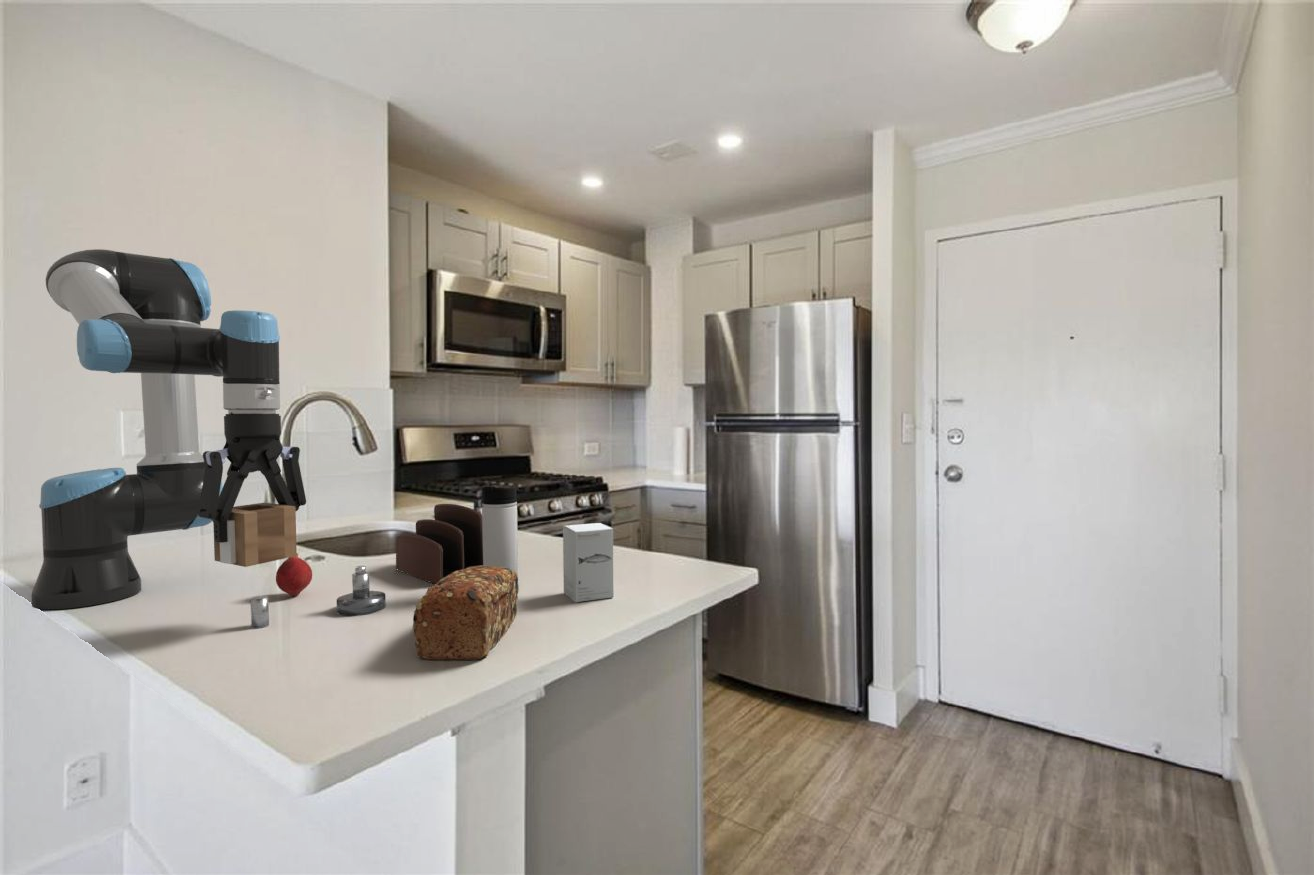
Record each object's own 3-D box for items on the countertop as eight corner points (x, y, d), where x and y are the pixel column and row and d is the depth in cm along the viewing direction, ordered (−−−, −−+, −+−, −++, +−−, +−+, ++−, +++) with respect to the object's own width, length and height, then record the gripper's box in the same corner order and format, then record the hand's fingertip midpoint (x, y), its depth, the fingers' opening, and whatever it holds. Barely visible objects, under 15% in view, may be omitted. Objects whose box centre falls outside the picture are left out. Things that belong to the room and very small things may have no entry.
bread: (488, 663, 86) (486, 588, 86) (409, 663, 87) (407, 589, 86) (521, 618, 105) (520, 557, 104) (456, 618, 105) (455, 557, 105)
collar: (214, 560, 100) (213, 509, 100) (265, 550, 107) (264, 502, 107) (245, 567, 97) (244, 513, 96) (296, 555, 104) (295, 506, 103)
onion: (296, 601, 115) (295, 556, 115) (268, 599, 116) (267, 555, 116) (319, 592, 121) (318, 550, 120) (292, 591, 122) (291, 549, 122)
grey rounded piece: (248, 626, 101) (247, 599, 101) (263, 622, 104) (262, 595, 103) (257, 629, 100) (256, 601, 100) (272, 624, 102) (271, 597, 102)
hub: (326, 612, 109) (325, 569, 108) (365, 600, 115) (364, 560, 115) (357, 618, 105) (356, 574, 105) (395, 605, 112) (394, 564, 112)
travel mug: (475, 595, 118) (473, 485, 117) (497, 586, 124) (495, 482, 123) (504, 598, 115) (502, 487, 115) (525, 589, 121) (523, 483, 121)
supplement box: (574, 603, 112) (573, 531, 111) (562, 593, 119) (561, 524, 118) (614, 598, 115) (613, 527, 114) (601, 588, 122) (600, 521, 121)
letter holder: (439, 562, 145) (437, 500, 144) (486, 577, 131) (485, 508, 130) (395, 571, 137) (393, 505, 137) (440, 588, 124) (438, 514, 123)
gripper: (193, 412, 90) (198, 575, 91) (329, 411, 108) (332, 546, 109) (163, 412, 93) (169, 568, 94) (300, 411, 112) (304, 542, 113)
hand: (257, 556), depth 102 cm, fingers closed on collar, 8 cm apart
